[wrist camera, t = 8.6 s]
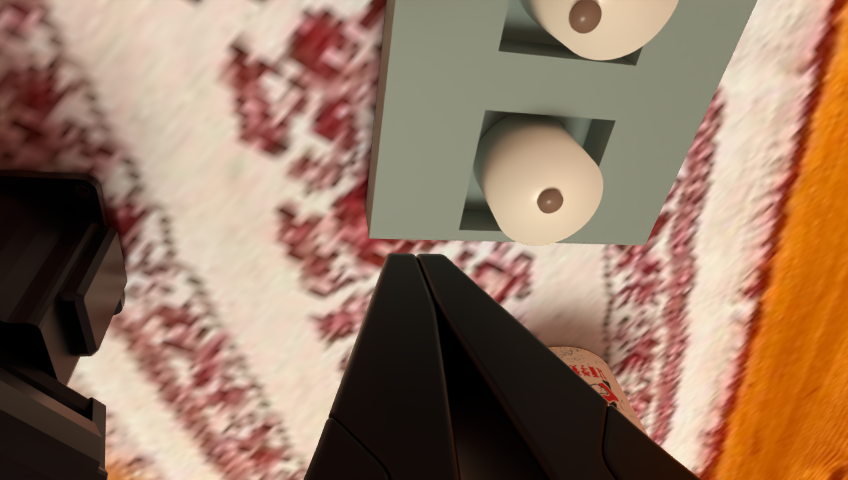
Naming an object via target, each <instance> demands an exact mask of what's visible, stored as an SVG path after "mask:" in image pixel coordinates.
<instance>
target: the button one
mask: <svg viewBox="0 0 848 480" xmlns="http://www.w3.org/2000/svg"><path fill="white" fill-rule="evenodd" d="M473 171H474V175H475V179H476V181H477V183H478V185H479V187H480V189H481V191H482V193H483V195H484V197H485V199H486V201H487V203H488V205H489V207H490V209H491V211H492V213H493V215H494V217H495V219H496V221H497V223H498V225H499V227H500V229H501V230H502V231H503V233H504V234H505V235H506V236H508V237H509V238H511V239H512V240H514V241H516V242H519V243H521V244H526V245H534V246H535V245H547V244H551V243H555V242H558V241H561V240H563V239H565V238H567V237H569V236H571V235H572V234H574V233H575V232H577V231H578V230H579V229H581V228H582V227H583V226H584V225H585V224H586V223H587V222H588V221H589V220H590V218H591V217H592V216H593V215H594V213H595V211H596V210H597V208H598V206H599V203H600V201H601V198H602V193H603V178H602V174H601V171H600V169H599V167H598V166H597V164H596V163H595V162H594V161H593V160H592V158H591V157H590V156H589V155H588V154H587V153H586V152H585V151H584V149H583V148H582V147H581V146H580V145H579V144H578V143H577V142H576V141H575V139H574V138H573V137H572V136H571V135H570V134H569V133H568V132H567V130H566V129H565V128H564V127H563V126H562V125H561V124H560V123H559V122H558V121H557V120H556V119H554V118H553V117H551V116H549V115H542V114H529V113H516V114H513V115H510V116H507V117H505V118H503V119H502V120H500V121H499V122H497V123H496V124H494V125H493V126H492V127H491V128H490V129H489V130H488V131H487V132H486V133H485V134H484V136H483V137H482V138H481V140H480V142H479V143H478V146H477V150H476V154H475V159H474V163H473Z"/></svg>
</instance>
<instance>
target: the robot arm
mask: <svg viewBox="0 0 848 480" xmlns="http://www.w3.org/2000/svg"><path fill="white" fill-rule="evenodd" d="M78 185H82V186H85V187H87V188H88V189H89V191H90V192H84V191H82V190H80V189H79V187H78ZM126 283H127V276H126V271H125V266H124V261H123V256H122V251H121V246H120V241H119V236H118V232H117V231H116V230H115V229H114V228H113V227H109V223H108V218H107V214H106V209H105V204H104V199H103V195H102V190H101V186H100V184H99V182H98V181H97V180H96V179H95V178H94V177H92V176H90V175H87V174H77V173H55V172H33V171H11V170H0V480H108V473H107V471H106V470H105V431H106V406H105V405H104V404H102V403H101V402H99V401H97V400H96V399H94V398H92V397H91V398H89V399H88V398H86V397H84V396H83V395H81V394H79V393H78V392H76V391H74V390H73V389H71V388H69V387H68V386H67V385H68V383H69V381H70V378H71V376H72V374H73V372H74V369H75V367H76V365H77V363H78V361H79V358H80V356H92V355H94V354H95V353H96V352H97V351H98V350H99V348H100V345H101V343H102V340H103V338H104V336H105V333H106V331H107V328H108V326H109V324H110V321H111V319H112V317H113V315H116V314H118V313H120V312H121V311H122V309H123V306H124V304H125V298H124V294H123V290H124V288H125V286H126ZM304 480H701V479H700V478H698V477H697V476H696V475H695V474H693V473H692V472H691V471H690V470H688V469H687V468H686V467H685V466H683V465H682V464H681V463H680V462H678V461H677V460H676V459H675V458H673V457H672V456H671V455H670V454H668V453H667V452H666V451H665V450H664V449H663V448H661V447H660V446H659V445H658V444H657V443H656V442H654V441H653V440H652V439H651V438H650V437H649V436H647V435H646V434H645V433H644V432H643V431H642V430H640V429H639V428H638V427H637V426H636V425H635V424H633V423H632V422H631V421H630V420H629V419H628V418H627V417H626V416H624V415H623V414H622V413H621V412H620V411H619V410H618V409H617V408H616V407H614V406H613V405H609V406H608V401H607V400H606V399H605V398H604V397H603V396H602V395H601V394H600V393H598V392H597V391H596V390H595V389H594V388H593V387H592V386H591V385H589V384H588V383H587V382H586V381H585V380H584V379H583V378H582V377H580V376H579V375H578V374H577V373H576V372H575V371H574V370H573V369H571V368H570V367H569V366H568V365H567V364H566V363H565V362H564V361H563V360H561V359H560V358H559V357H558V356H557V355H556V354H555V353H554V352H552V351H551V350H550V349H549V348H548V347H547V346H546V345H545V344H543V343H542V342H541V341H540V340H539V339H538V338H537V337H536V336H534V335H533V334H532V333H531V332H530V331H529V330H528V329H527V328H526V327H524V326H523V325H522V324H521V323H520V322H519V321H518V320H517V319H515V318H514V317H513V316H512V315H511V314H510V313H509V312H508V311H506V310H505V309H504V308H503V307H502V306H501V305H500V304H499V303H497V302H496V301H495V300H494V299H493V298H492V297H491V296H490V295H489V294H487V293H486V292H485V291H484V290H483V289H482V288H481V287H480V286H478V285H477V284H476V283H475V282H474V281H473V280H472V279H471V278H469V277H468V276H467V275H466V274H465V273H464V272H463V271H462V270H460V269H459V268H458V267H457V266H456V265H455V264H454V263H453V262H452V261H450V260H449V259H448V258H447V257H446V256H444V255H442V254H418V255H417V256H415V255H413V254H405V253H390V254H388V255H387V257H386V259H385V262H384V265H383V267H382V270H381V273H380V276H379V278H378V281H377V284H376V287H375V289H374V292H373V295H372V298H371V301H370V303H369V306H368V309H367V312H366V314H365V317H364V320H363V323H362V325H361V328H360V331H359V334H358V336H357V339H356V342H355V345H354V347H353V350H352V353H351V356H350V358H349V361H348V364H347V367H346V369H345V372H344V375H343V378H342V380H341V383H340V386H339V389H338V391H337V394H336V397H335V400H334V402H333V405H332V408H331V411H330V414H329V419H328V420H327V421H326V423H325V426H324V429H323V432H322V434H321V437H320V440H319V443H318V445H317V448H316V450H315V453H314V455H313V458H312V460H311V463H310V465H309V468H308V470H307V472H306V475H305V477H304Z"/></svg>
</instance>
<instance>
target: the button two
mask: <svg viewBox="0 0 848 480" xmlns="http://www.w3.org/2000/svg"><path fill="white" fill-rule="evenodd" d="M678 1H679V0H520V2H521V4H522V6H523V8H524V10H525V11H526V13H527V14H528V16H529V17H530V18H531V19H532V20H533V21H535V22H536V23H537V24H538V25H540V26H541V27H542V28H543V29H545V30H546V31H547V32H548V33H550V34H551V35H552V36H554V37H555V38H556V39H557V40H559V41H560V42H561V43H562V44H564V45H565V46H566V47H567V48H569V49H570V50H571V51H573V52H574V53H576V54H578V55H579V56H582V57H585V58H587V59H592V60H611V59H616V58H620V57H622V56H625V55H628V54H630V53H632V52H634V51H636V50H637V49H639V48H641V47H642V46H644V45H645V44H646V43H647V42H649V41H650V40H651V39H652V38H653V37H654V36H655V35H656V34H657V33H658V32H659V31H660V30H661V29H662V28H663V26H664V25H665V24H666V22H667V21H668V20H669V18H670V17H671V15H672V13H673V11H674V10H675V8H676V6H677V4H678Z"/></svg>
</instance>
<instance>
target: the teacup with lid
mask: <svg viewBox="0 0 848 480" xmlns="http://www.w3.org/2000/svg"><path fill="white" fill-rule="evenodd" d="M548 348H549V349H550V350H551V351H552V352H554V353H555V354H556V355H557V356H558V357H559V358H560V359H561V360H563V361H564V362H565V363H566V364H567V365H568V366H569V367H570V368H571V369H573V370H574V371H575V372H576V373H577V374H578V375H579V376H580V377H582V378H583V379H584V380H585V381H586V382H587V383H588V384H589V385H591V386H592V387H593V388H594V389H595V390H596V391H597V392H598V393H600V394H601V395H602V396H603V397H604V398H605V399H606V400H607V401H608V406H609V405H613V406H614V407H616V408H617V409H618V410H619V411H620V412H621V413H622V414H623V415H624V416H626V417H627V418H628V419H629V420H630V421H631V422H632V423H633V424H635V425H636V426H637V427H638V428H639V429H640V430H642V431H643V432H644V433H645V434H646V435H647V436H648V434H647V433H646V431H645V429H644V427H643V426H642V424H641V422H640V420H639V419H638V417H637V415H636V413H635V412H634V410H633V408H632V406H631V405H630V403H629V401H628V399H627V398H626V396H625V394H624V392H623V391H622V389H621V387H620V385H619V384H618V382H617V380H616V378H615V377H614V375H613V373H612V371H611V370H610V368H609V367H608V365H607V364H606V363H605V362H604V361H603V360H602V359H601V358H600V357H599V356H597V355H595V354H594V353H592V352H589V351H587V350H583V349H580V348H575V347H561V346H560V347H548Z"/></svg>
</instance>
